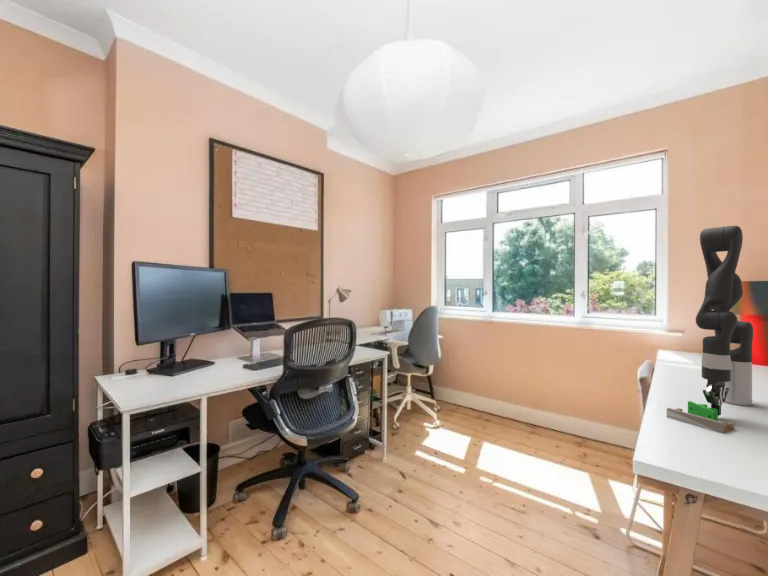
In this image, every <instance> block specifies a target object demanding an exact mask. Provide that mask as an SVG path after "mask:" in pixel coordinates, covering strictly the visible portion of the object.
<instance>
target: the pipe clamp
mask: <svg viewBox="0 0 768 576" xmlns="http://www.w3.org/2000/svg"><path fill="white" fill-rule="evenodd" d="M687 413H690V414H694V415H697V416H701V417H705V418H708V419H712V420H716V421H719V416H718V409H714V408H711V407H708V405H707V404H705V403H704V404H702V403H696V402H693V401H690V400H689V401H687Z"/></svg>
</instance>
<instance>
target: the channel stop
mask: <svg viewBox="0 0 768 576" xmlns="http://www.w3.org/2000/svg"><path fill="white" fill-rule="evenodd" d="M666 417H667V418H669V419H673V420H676V421H680V422H683V423H687V424H691V425H693V424H694V426H696V425H697V427H700V426H701V427H700V428H703V427H705V428H704V429H707V428H708V429H707V430H710V429H711V431H714V430H715V431H714V432H717V433H720V432H721V433H720V434H723V433H726V432H729V431H732V430H734V429H735V422H733V421H729V422H722V421H720V420H718V421H716V420H712V419H708V418H705V417H701V416H697V415H694V414H690V413H688V412H687V411H683V408H678V407H677V408H672V407H667V408H666Z"/></svg>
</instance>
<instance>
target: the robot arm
mask: <svg viewBox="0 0 768 576" xmlns="http://www.w3.org/2000/svg"><path fill="white" fill-rule="evenodd" d="M743 238H744V237H743V232H742V229H741V227H740V226H738V225H728V226H718V227H709V228H704V229H702V231H700V233H699V243H700V247H701V252H702V256H703V260H704V264H705V269H706V273H707V274H706V275H707V280H706V283H705V291H704V299H703V302H702V304H701V306H700V309H699V310H698V312H697V313H696V317H695V324H696V326H697V327H698V328H699V329H702V330H706V331H707V330H709V331H714V336H713V335H711V336H705V337H703V338H702V354H701V378H702V379H704V380H707V383H706V385H705V387H706V389H703V390H702V393H703V396H704V397H705V400H706V403H708V404H710V408H714V409H718V417H719V416H721V415H722V405H723V403H727V404H731V405H737V406H744V407H745V406H747V407H748V406H752V405H753V340H754V326H753V324H752V323H751V322H749V321H743V320H741V321H739V320H738V316H737V315H736V314H735V312H733V311H731V309H732V308H733V307H735V306H736V304H738V302H739V301H740V300H741V298H742V297H743V295H744V294H743V293H744V292H743V285H742V280H741V277H740V276H739V275H738V274H737V273H736V272H737V271H736V270H737V267H738V264H739V263H738V262H739V259H740V256H741V255H740V254H741V251H742V246H743V240H744V239H743ZM718 252H719V253H720V252H726V256H725V258H724V259H723V261H722V260H721V259H720V257H719V256H718V254H717V253H718ZM731 344H737V345H740V346H738V347H737V348H734V349H731Z"/></svg>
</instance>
